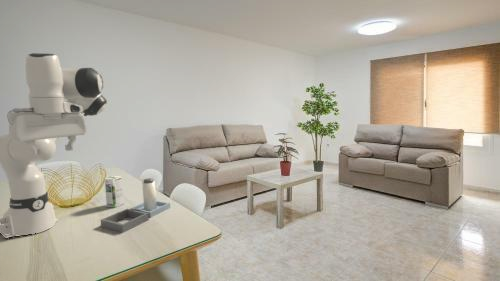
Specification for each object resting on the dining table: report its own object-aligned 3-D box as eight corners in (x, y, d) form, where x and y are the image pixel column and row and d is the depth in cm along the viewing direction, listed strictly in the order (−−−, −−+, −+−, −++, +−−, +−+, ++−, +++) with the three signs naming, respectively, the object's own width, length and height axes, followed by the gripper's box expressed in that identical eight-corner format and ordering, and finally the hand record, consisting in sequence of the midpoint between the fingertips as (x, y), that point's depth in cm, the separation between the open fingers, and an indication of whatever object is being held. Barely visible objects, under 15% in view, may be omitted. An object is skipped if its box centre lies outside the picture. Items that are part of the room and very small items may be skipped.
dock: (101, 226, 111) (100, 219, 111) (127, 215, 123) (127, 208, 123) (123, 232, 106) (122, 225, 105) (148, 219, 117) (148, 213, 117)
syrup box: (106, 206, 134) (103, 178, 133) (116, 202, 140) (113, 175, 138) (114, 208, 132) (112, 179, 130) (124, 203, 138) (122, 176, 136)
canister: (141, 209, 127) (139, 180, 125) (150, 205, 132) (148, 177, 130) (150, 211, 124) (148, 181, 123) (159, 207, 129) (157, 178, 127)
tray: (130, 213, 125) (130, 208, 125) (151, 204, 137) (150, 199, 136) (150, 217, 120) (150, 212, 120) (170, 207, 131) (170, 203, 131)
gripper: (12, 108, 71) (19, 159, 73) (87, 107, 90) (91, 148, 91) (0, 108, 74) (7, 158, 76) (75, 107, 92) (79, 147, 94)
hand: (53, 152), depth 84 cm, fingers open, 8 cm apart
